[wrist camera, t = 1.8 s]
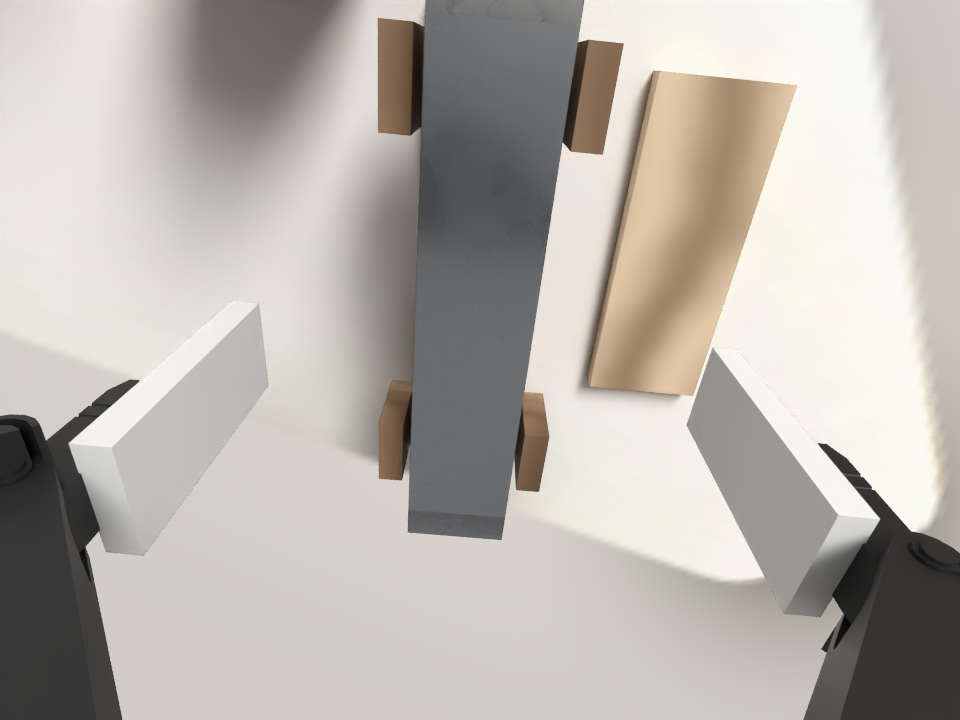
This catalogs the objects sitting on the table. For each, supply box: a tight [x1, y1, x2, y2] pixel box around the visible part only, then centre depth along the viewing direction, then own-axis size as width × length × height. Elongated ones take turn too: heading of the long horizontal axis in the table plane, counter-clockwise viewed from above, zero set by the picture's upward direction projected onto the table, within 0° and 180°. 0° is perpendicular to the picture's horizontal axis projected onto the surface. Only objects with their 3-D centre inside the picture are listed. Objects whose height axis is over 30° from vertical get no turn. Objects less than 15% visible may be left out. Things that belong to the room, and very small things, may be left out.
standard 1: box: [379, 381, 549, 492], centre depth 27 cm, size 7×6×10 cm
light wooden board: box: [587, 71, 797, 396], centre depth 27 cm, size 6×16×1 cm, turn 175°
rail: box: [408, 0, 584, 540], centre depth 20 cm, size 4×20×4 cm, turn 175°
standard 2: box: [378, 18, 623, 155], centre depth 20 cm, size 7×6×10 cm
